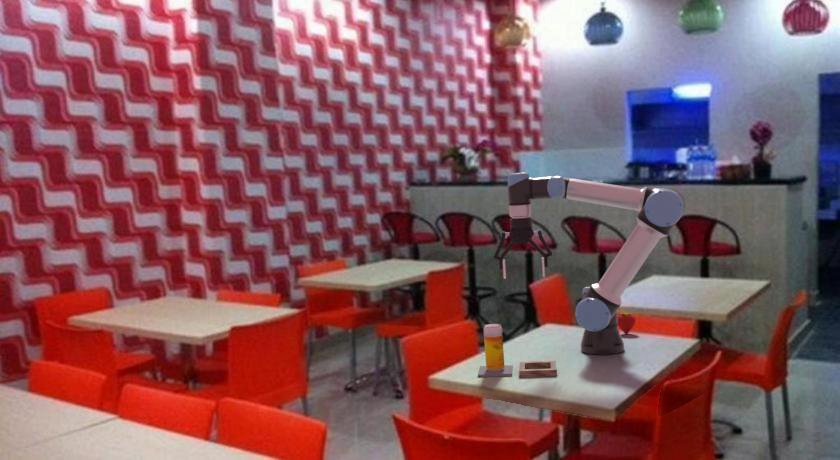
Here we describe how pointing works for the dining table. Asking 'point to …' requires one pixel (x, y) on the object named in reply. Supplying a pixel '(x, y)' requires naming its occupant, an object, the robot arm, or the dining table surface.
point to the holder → (530, 370)
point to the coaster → (505, 372)
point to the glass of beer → (494, 347)
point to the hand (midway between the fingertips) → (524, 277)
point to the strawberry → (626, 321)
